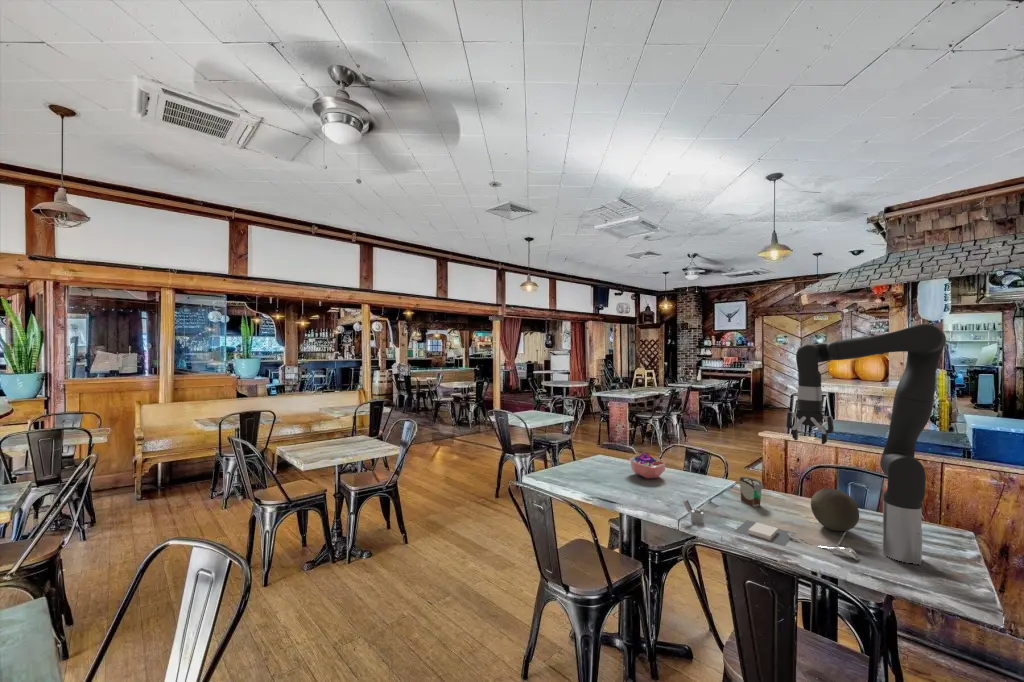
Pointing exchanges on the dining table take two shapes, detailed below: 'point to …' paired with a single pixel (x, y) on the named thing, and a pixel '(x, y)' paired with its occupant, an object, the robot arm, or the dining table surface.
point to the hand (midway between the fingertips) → (809, 441)
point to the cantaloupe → (835, 509)
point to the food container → (750, 491)
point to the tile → (763, 531)
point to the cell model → (647, 466)
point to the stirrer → (840, 548)
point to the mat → (779, 539)
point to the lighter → (694, 513)
